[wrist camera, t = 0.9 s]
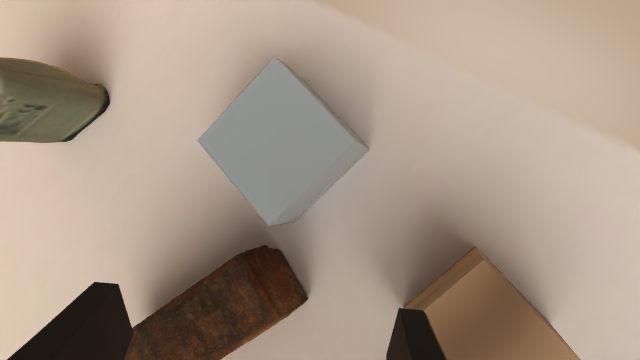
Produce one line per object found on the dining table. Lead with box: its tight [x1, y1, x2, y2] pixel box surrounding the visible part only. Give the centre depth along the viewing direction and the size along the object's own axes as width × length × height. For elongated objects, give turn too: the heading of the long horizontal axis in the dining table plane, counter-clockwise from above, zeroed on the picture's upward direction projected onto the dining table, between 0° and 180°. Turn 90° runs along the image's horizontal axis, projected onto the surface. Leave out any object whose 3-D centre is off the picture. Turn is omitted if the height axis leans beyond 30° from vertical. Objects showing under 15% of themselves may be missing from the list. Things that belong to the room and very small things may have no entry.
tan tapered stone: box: [0, 57, 109, 143], centre depth 25 cm, size 6×5×8 cm
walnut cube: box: [403, 247, 580, 360], centre depth 19 cm, size 5×5×5 cm
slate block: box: [197, 57, 369, 226], centre depth 23 cm, size 6×6×4 cm
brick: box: [124, 245, 308, 360], centre depth 23 cm, size 11×4×5 cm, turn 124°
